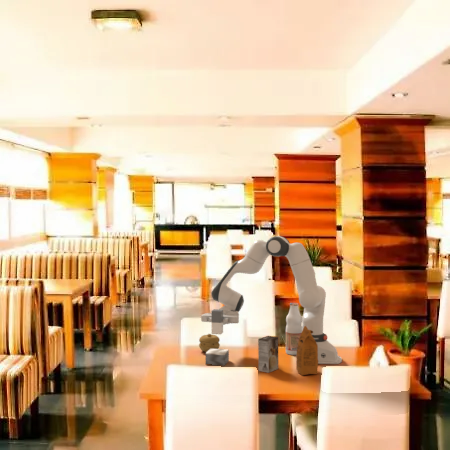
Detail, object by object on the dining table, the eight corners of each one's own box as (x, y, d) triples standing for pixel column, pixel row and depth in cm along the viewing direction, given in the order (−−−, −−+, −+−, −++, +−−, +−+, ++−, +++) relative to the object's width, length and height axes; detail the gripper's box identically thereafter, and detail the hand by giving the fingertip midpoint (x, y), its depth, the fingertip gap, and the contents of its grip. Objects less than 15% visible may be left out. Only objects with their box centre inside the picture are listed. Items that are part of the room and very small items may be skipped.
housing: (223, 332, 294) (223, 309, 294) (220, 334, 289) (220, 311, 289) (213, 331, 295) (213, 309, 295) (211, 333, 291) (211, 310, 290)
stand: (228, 360, 296) (228, 349, 296) (224, 365, 287) (224, 354, 287) (210, 359, 299) (210, 348, 299) (205, 364, 289) (205, 353, 289)
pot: (223, 350, 318) (223, 333, 318) (212, 355, 308) (212, 337, 308) (206, 348, 324) (206, 330, 324) (194, 352, 315) (194, 334, 314)
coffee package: (313, 368, 282) (314, 325, 281) (319, 375, 269) (319, 330, 269) (294, 369, 281) (294, 325, 281) (299, 376, 269) (299, 330, 268)
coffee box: (268, 366, 285) (268, 335, 285) (278, 368, 281) (278, 337, 281) (257, 370, 278) (258, 338, 277) (268, 373, 274) (268, 340, 274)
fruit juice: (282, 353, 313) (282, 303, 312) (292, 350, 319) (293, 301, 319) (295, 356, 306) (295, 305, 305) (306, 353, 312) (306, 303, 312)
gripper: (204, 309, 307) (197, 314, 294) (241, 311, 302) (235, 315, 289) (204, 321, 307) (197, 326, 294) (241, 322, 303) (235, 328, 289)
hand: (217, 321), depth 291 cm, fingers closed on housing, 5 cm apart
